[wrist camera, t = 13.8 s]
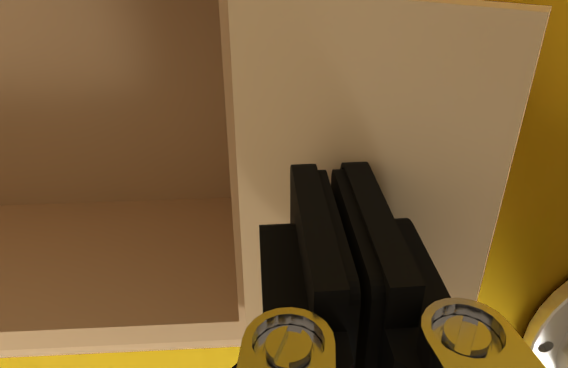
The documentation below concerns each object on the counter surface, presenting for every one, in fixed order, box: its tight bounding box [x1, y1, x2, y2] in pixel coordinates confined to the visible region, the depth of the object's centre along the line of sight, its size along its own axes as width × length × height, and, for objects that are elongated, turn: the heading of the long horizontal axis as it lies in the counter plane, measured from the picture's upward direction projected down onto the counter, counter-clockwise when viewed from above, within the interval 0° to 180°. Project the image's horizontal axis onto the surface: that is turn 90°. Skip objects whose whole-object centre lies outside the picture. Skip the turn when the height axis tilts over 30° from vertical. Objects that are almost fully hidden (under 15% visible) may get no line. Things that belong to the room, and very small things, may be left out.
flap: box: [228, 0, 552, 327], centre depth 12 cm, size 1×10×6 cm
